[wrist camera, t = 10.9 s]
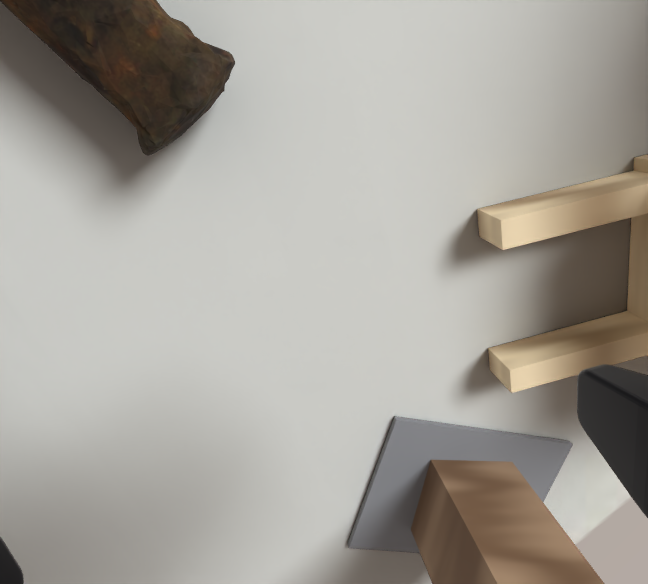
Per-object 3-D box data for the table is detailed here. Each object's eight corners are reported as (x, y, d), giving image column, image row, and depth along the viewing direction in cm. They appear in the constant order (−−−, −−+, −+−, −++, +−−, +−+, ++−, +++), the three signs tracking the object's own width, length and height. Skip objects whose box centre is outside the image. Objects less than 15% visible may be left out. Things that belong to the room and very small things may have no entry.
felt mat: (347, 543, 26) (349, 548, 26) (394, 416, 24) (396, 420, 23) (511, 554, 29) (513, 559, 28) (569, 440, 26) (572, 444, 26)
